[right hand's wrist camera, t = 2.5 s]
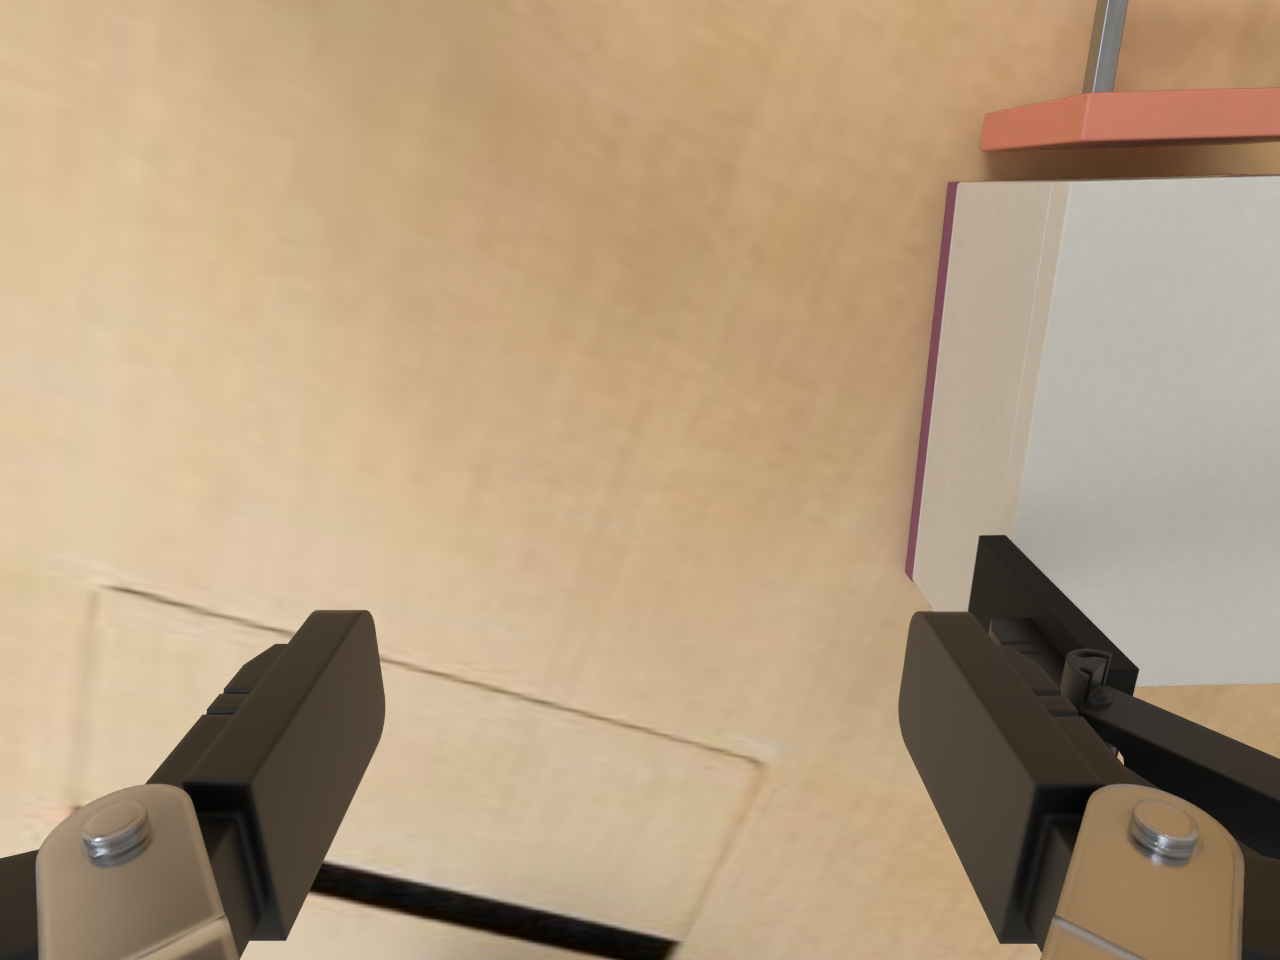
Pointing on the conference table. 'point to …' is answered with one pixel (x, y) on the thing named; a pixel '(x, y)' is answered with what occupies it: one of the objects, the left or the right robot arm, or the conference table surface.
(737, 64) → the conference table surface
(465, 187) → the conference table surface
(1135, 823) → the right robot arm
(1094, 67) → the drawer
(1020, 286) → the cabinet
